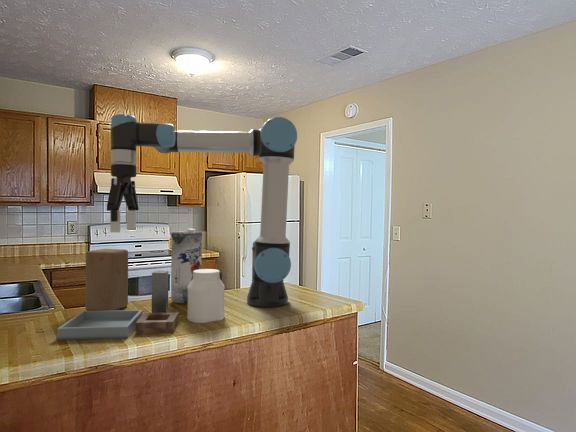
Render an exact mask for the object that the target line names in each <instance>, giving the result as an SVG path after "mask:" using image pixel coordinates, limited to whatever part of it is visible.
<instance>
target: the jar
mask: <svg viewBox="0 0 576 432" xmlns="http://www.w3.org/2000/svg"><path fill="white" fill-rule="evenodd" d="M220 273H221V272H220V270H219V269H215V268H201V269H199V270H194V271H193V279H192V281H191V282H190V284H189V285H188V288H187V290H188V304H187V314H186V316H187V317H186V320H187V321H188V322H190V323H191V322H192V323H195V324H205V323H210V322H218V321H219V322H220V321H223V320H224V319H225V288H226V286H225V284H224V283H223V281H222V280H221V278H220V277H221V276H220Z"/></svg>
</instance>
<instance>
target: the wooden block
mask: <svg viewBox="0 0 576 432" xmlns="http://www.w3.org/2000/svg"><path fill="white" fill-rule="evenodd" d="M128 304H129V251H128V250H127V249H121V248H119V249H118V248H100V249H94V250H89V251H86V252H85V307H84V308H85V311H113V310H120V309H121V310H122V309H123V308H125V307H127V306H128Z"/></svg>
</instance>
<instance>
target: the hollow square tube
mask: <svg viewBox="0 0 576 432" xmlns="http://www.w3.org/2000/svg"><path fill="white" fill-rule="evenodd" d="M178 323H179V312H168V313H152V312H143V315H142V316H141V317H140V318H139V320H138V321H137V322H136V328H135V334H164V333H165V334H166V333H169V334H170V333H174V332H175V330H176V327H177V326H178Z"/></svg>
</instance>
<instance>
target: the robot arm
mask: <svg viewBox="0 0 576 432" xmlns="http://www.w3.org/2000/svg"><path fill="white" fill-rule="evenodd" d="M110 121H111V122H110V129H109V130H110V153H109V157H110V163H112V164H111V165H110V176H112V178H111V181H110V190H109V195H108V199H107V203H106V211H107V212H108V211H110V214H109V215H110V216H109V217H110V222H109V225H110V226H109V227H110V229H109V231H110V233H121V210H120V207H121V204H122V202H123V198H124V200H125V204H126V206H127V210H126V230H127V231H136V230H137V227H136V226H137V224H136V223H137V217H136V216H137V213H136V212H137V211H139V203H138V198H137V197H138V196H137V191H136V182H135V180H132V178H136V177H137V166H136V165H137V147H149V148H150V147H152V148H153V149H154V150H156V151H157V152H158V153H161V154H167V155H168V154H169V153H170V154H171V153H212V154H213V153H219V154H220V153H223V154H224V153H225V154H226V153H227V154H228V153H229V154H234V153H235V154H249V155H251V156H252V157H258V159H259V161H260V162H262V164H263V168H262V189H261V192H262V193H261V207H260V208H261V210H260V212H261V213H260V229H259V230H260V232H259V233H260V234H259V236H258V237H257V238H256V239H255V240H254V241H253V242H252V246H251V250H252V255H251V256H252V260H251V263H252V264H251V265H252V267H251V268H252V269H251V284H250V287H249V290H248V293H247V296H246V303H247V304H248V305H250V306H253V307H256V308H257V307H259V308H277V307H282V306H285V305H287V304H288V303H289V296H288V292H287V289H286V286H285V283H284V280H285V279H286V278H287V277H288V276H289V273H290V272H291V267H292V262H291V257H290V251H291V249H290V247H291V241H290V240H289V239H288V237H287V217H288V197H289V195H288V194H289V179H290V178H289V177H290V175H289V174H290V165H291V164H292V163H293V162H294V160H295V146H296V144H297V140H298V131H297V128H296V126H295V124H294V123H293V122H292V121H291V120H290V119H288V118H286V117H282V116H274V117H271V118H269V119H268V120H266V121H265V122H264V123H263V125H262V126H261V128H252V129H250V130H249V131H221V130H220V131H214V130H176V128H175V125H173V124H172V123H165V122H139V121H137V117H136V116H134V115H131V114H125V113H117V114H114V115H112V116H111V120H110Z"/></svg>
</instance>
